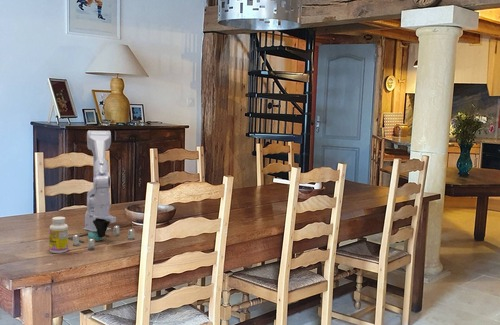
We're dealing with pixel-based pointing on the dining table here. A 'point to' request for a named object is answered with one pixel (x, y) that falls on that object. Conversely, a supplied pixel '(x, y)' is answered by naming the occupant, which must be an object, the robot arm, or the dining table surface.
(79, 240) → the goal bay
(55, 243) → the supplement bottle
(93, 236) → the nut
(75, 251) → the dining table surface
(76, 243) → the spacer field
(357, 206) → the dining table surface
